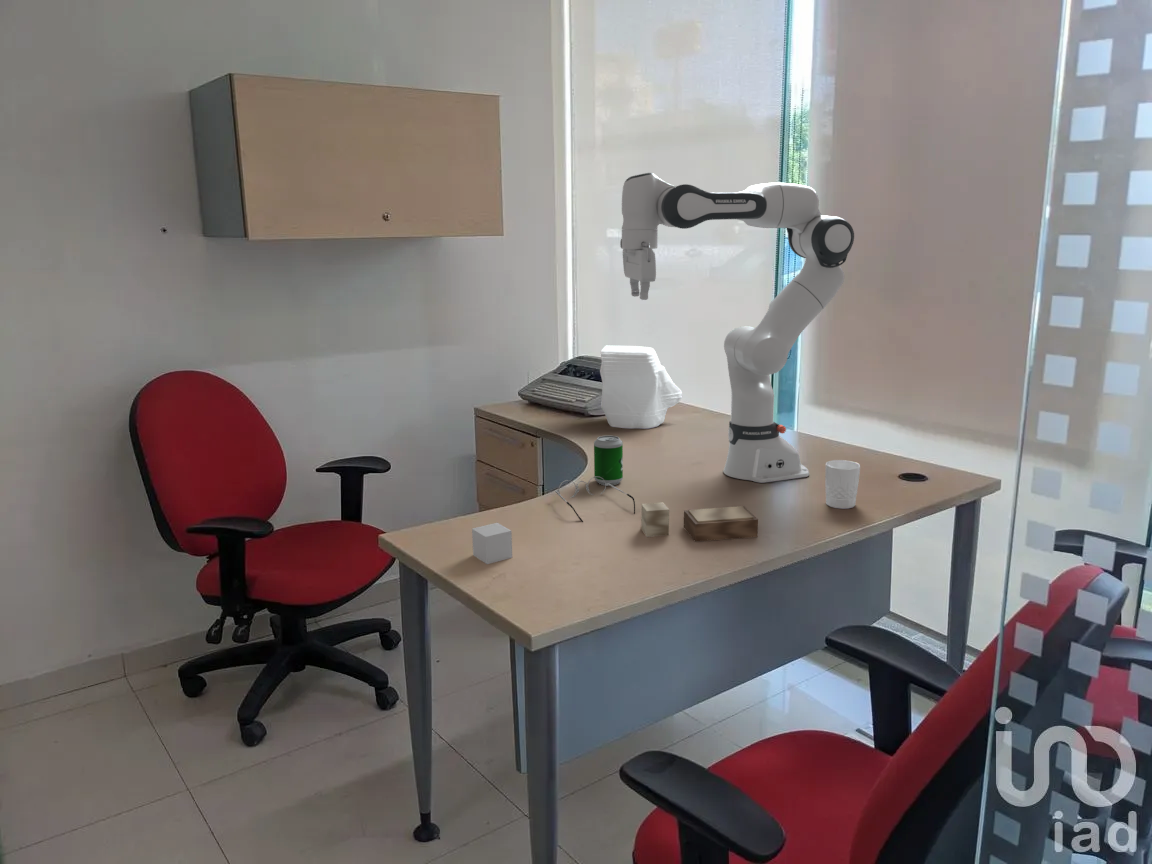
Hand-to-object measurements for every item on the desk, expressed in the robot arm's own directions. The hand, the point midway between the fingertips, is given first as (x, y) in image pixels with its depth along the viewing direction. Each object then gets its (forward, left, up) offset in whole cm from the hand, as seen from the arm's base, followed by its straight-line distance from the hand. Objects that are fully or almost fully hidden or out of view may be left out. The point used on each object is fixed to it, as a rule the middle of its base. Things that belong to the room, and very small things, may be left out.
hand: (639, 297), depth 215 cm
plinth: (-9, +41, -48) cm, 64 cm away
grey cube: (+42, +45, -48) cm, 78 cm away
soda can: (+8, 0, -48) cm, 49 cm away
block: (+5, +38, -48) cm, 62 cm away
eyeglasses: (+15, +18, -49) cm, 54 cm away
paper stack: (-13, -60, -48) cm, 78 cm away
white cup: (-43, +29, -48) cm, 71 cm away
